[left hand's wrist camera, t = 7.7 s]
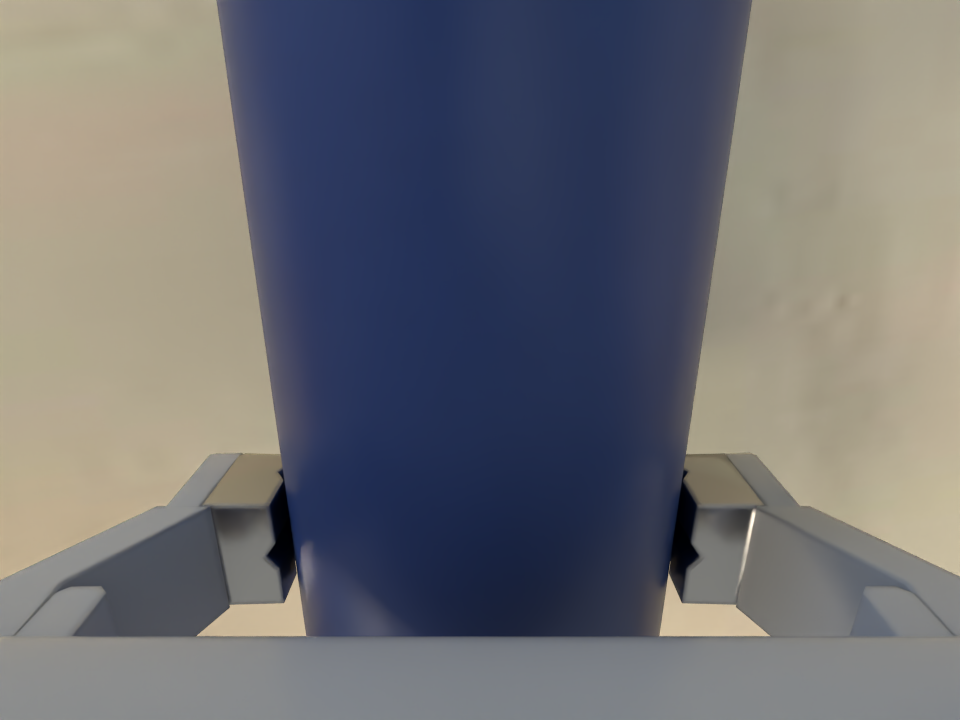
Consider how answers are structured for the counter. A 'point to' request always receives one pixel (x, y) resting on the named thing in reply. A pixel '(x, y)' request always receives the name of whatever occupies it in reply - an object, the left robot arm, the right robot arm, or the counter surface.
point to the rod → (483, 296)
